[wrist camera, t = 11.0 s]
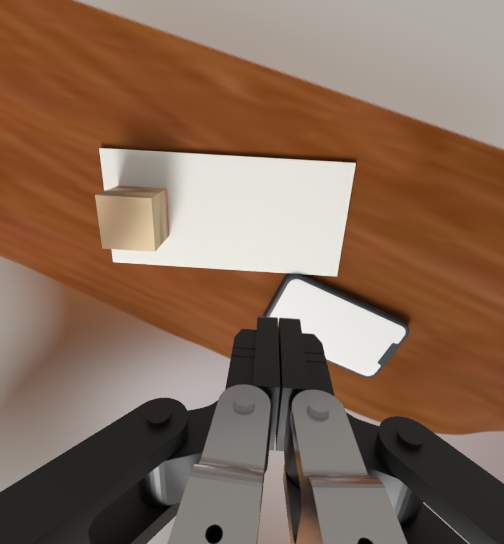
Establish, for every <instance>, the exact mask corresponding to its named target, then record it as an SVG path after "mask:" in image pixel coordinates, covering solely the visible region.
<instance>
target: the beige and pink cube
mask: <svg viewBox="0 0 504 544" xmlns="http://www.w3.org/2000/svg"><path fill="white" fill-rule="evenodd" d="M95 198H96V205H97V212H98V220H99V227H100V235H101V242H102V248H103V249H119V250H135V251H152V252H155V251H156V250H157V249H158V248H159V247H160V246H161V244H162V243H163V242H164V241H165V240H166V239H167V238H168V237H169V221H168V201H167V189H166V188H149V187H132V186H116V187H114V188H111V189H109V190H106V191H104V192H101V193H99V194H96V195H95Z"/></svg>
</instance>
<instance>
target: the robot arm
mask: <svg viewBox="0 0 504 544" xmlns="http://www.w3.org/2000/svg"><path fill="white" fill-rule="evenodd" d="M324 354H325V353H324V349H323V344H322V342H321V341H320V340H319V339H318V338H317V337H316V336H315V334H307V333H302V330H301V323H300V319H293V318H279V323H278V318H277V317H263V316H258V320H257V330H249V329H242V330H241V331H240V332H239V333H238V334H237V335H236V336H235V338H234V344H233V349H232V355H231V361H230V368H229V372H228V378H227V384H226V389H225V391H224V392H223V393H222V394H221V396H220V397H219V400H218V401H216V402H215V403H213V404H212V405H210V406H207V407H204V408H200V409H195V410H189V411H187V409H186V408H185V406H184V405H183V404H182V403H181V402H179V401H177V400H175V399H171V398H157V399H154V400H150V401H148V402H146V403H144V404H142V405H141V406H139V407H138V408H136V409H134V410H133V411H131V412H129V413H128V414H126V415H125V416H123V417H121V418H120V419H118V420H116V421H115V422H113V423H112V424H110V425H108V426H107V427H105V428H104V429H102V430H100V431H99V432H97V433H95V434H94V435H92V436H90V437H89V438H87V439H86V440H84V441H82V442H81V443H79V444H78V445H76V446H74V447H73V448H71V449H69V450H68V451H66V452H65V453H63V454H61V455H60V456H58V457H57V458H55V459H53V460H52V461H50V462H48V463H47V464H45V465H44V466H42V467H40V468H39V469H37V470H36V471H34V472H32V473H31V474H29V475H27V476H26V477H24V478H23V479H21V480H19V481H18V482H16V483H14V484H13V485H11V486H10V487H8V488H6V489H5V490H3V491H2V492H0V544H147V543H148V542H149V541H150V540H151V539H152V538H153V537H154V536H155V535H156V534H157V533H158V532H159V531H160V530H161V529H162V528H163V527H164V526H165V525H166V524H167V523H169V522H170V520H172V519H173V518H174V517H175V516H176V515H177V516H176V519H175V522H174V525H173V528H172V532H171V535H170V538H169V541H168V544H257V543H258V533H259V523H260V513H261V503H262V493H263V483H264V474H265V472H266V470H267V466H268V456H269V450H274V442H275V433H276V451H284V456H285V457H284V458H285V465H284V473H283V482H284V492H285V501H286V510H287V518H288V528H289V536H290V544H468V543H466V542H465V541H464V540H463V539H462V538H461V537H460V536H459V535H457V534H456V533H455V532H454V531H453V530H452V529H451V528H450V527H449V526H448V525H446V524H445V523H444V522H443V521H442V520H441V519H440V518H439V517H438V516H437V515H436V514H434V513H433V512H432V511H431V510H430V509H429V508H428V507H426V505H424V504H423V502H425V503H426V504H427V505H428V506H429V507H430V508H431V509H432V510H433V511H434V512H436V513H437V514H438V515H439V516H440V517H441V518H442V519H443V520H445V521H446V522H447V523H448V524H449V525H450V526H451V527H452V528H453V529H454V530H456V531H457V532H458V533H459V534H460V535H461V536H462V537H463V538H465V539H466V540H467V541H468V542H469V543H470V544H504V484H503V483H502V482H501V481H499V480H498V479H496V478H495V477H494V476H492V475H491V474H490V473H488V472H487V471H485V470H484V469H482V468H481V467H480V466H478V465H477V464H476V463H474V462H473V461H472V460H470V459H469V458H467V457H466V456H465V455H463V454H462V453H461V452H459V451H458V450H456V449H455V448H454V447H452V446H451V445H450V444H448V443H447V442H445V441H444V440H443V439H441V438H440V437H439V436H437V435H436V434H434V433H433V432H432V431H430V430H429V429H427V428H426V427H425V426H423V425H422V424H420V423H418V422H416V421H414V420H412V419H409V418H405V417H390V418H387V419H385V420H384V421H382V423H381V424H380V427H379V426H376V425H373V424H370V423H367V422H364V421H361V420H359V419H356V418H354V417H353V416H351V415H349V414H348V413H346V411H345V409H344V407H343V405H342V403H341V402H340V401H339V400H338V399H337V398H336V397H335V396H334V392H333V387H332V383H331V379H330V374H329V370H328V366H327V364H326V357H325V355H324Z"/></svg>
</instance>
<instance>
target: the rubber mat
mask: <svg viewBox="0 0 504 544" xmlns="http://www.w3.org/2000/svg"><path fill="white" fill-rule="evenodd" d="M99 150H100V158H101V167H102V175H103V183H104V191H106V190H109V189H111V188H114V187H116V186H132V187H149V188H166V189H167V201H168V221H169V237H168V238H167V239H166V240H165V241H164V242H163V243H162V244H161V246H160V247H159V248H158V249H157V250H156V251H155V252H152V251H135V250H119V249H112V257H113V262H120V263H135V264H151V265H167V266H182V267H198V268H214V269H229V270H245V271H261V272H276V273H292V274H308V275H323V276H337V273H338V267H339V262H340V256H341V250H342V244H343V238H344V232H345V226H346V220H347V214H348V208H349V202H350V196H351V190H352V184H353V178H354V172H355V166H356V163H351V162H334V161H317V160H300V159H282V158H265V157H248V156H231V155H213V154H196V153H179V152H162V151H144V150H127V149H110V148H99Z"/></svg>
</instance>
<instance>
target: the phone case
mask: <svg viewBox="0 0 504 544" xmlns="http://www.w3.org/2000/svg"><path fill="white" fill-rule="evenodd" d="M263 317H277V318H278V323H279V318H293V319H300V323H301V330H302V333H307V334H315V336H316V337H317V338H318V339H319V340H320V341H321V342H322V344H323V349H324V353H325V354H324V355H325V357H326V361H328V362H330V363H332V364H335V365H337V366H339V367H342V368H344V369H346V370H349V371H351V372H353V373H355V374H358V375H360V376H362V377H365V378H372V377H374V376H376V375H377V374H378V373H379V372H380V370H381V369H382V368H383V367H384V365H385V364H386V363H387V361H388V360H389V359H390V358H391V356H392V355H393V354H394V353H395V351H396V350H397V349H398V347H399V346H400V345H401V344H402V342H403V341H404V340H405V339H406V337H407V336H408V334H409V328H408V326H407V325H406V323H405V322H404V321H403V320H401V319H399V318H397V317H395V316H393V315H391V314H389V313H386V312H384V311H383V310H381V309H378V308H376V307H373V306H371V305H370V304H368V303H365V302H363V301H360V300H358V299H356V298H354V297H351V296H349V295H347V294H345V293H343V292H340V291H338V290H336V289H334V288H331V287H329V286H327V285H325V284H323V283H320V282H318V281H316V280H314V279H312V278H309V277H307V276H305V275H303V274H292V273H290V274H288V275H287V276H286V277H285V278H284V280H283V282H282V283H281V285H280V287H279V289H278V290H277V292H276V294H275V296H274V298H273V299H272V301H271V303H270V305H269V307H268V308H267V310H266V312H265V314H264V316H263Z"/></svg>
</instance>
